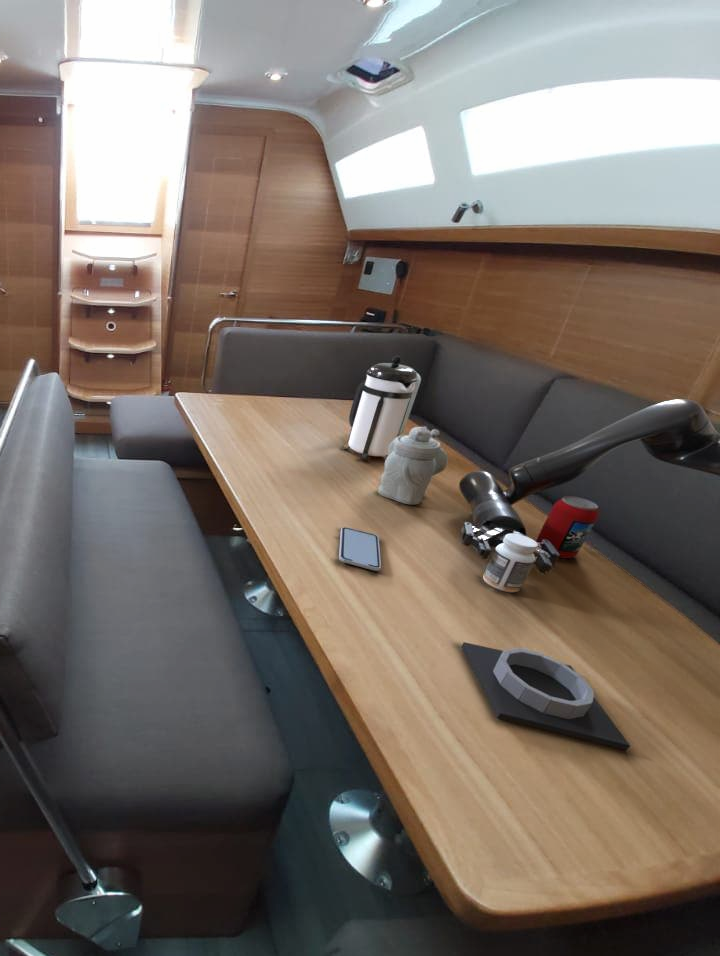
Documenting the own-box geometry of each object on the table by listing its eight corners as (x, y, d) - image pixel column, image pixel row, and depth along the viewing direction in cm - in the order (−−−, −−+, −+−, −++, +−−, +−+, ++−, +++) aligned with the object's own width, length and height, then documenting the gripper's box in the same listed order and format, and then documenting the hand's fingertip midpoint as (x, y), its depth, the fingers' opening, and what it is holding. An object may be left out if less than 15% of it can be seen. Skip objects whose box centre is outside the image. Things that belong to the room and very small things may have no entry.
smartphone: (378, 535, 108) (381, 569, 95) (377, 538, 108) (379, 573, 96) (341, 525, 110) (339, 558, 98) (340, 529, 111) (338, 562, 99)
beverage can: (569, 564, 101) (598, 513, 96) (528, 549, 106) (554, 499, 101) (578, 554, 105) (606, 504, 100) (538, 539, 110) (563, 491, 104)
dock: (568, 670, 75) (578, 653, 74) (626, 750, 63) (641, 732, 61) (461, 646, 79) (469, 629, 77) (497, 718, 67) (507, 699, 65)
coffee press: (401, 454, 154) (435, 356, 141) (387, 468, 143) (422, 364, 130) (343, 439, 164) (369, 347, 151) (325, 451, 154) (352, 353, 141)
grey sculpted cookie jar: (412, 480, 136) (435, 414, 128) (454, 506, 123) (484, 435, 115) (355, 480, 135) (376, 414, 126) (392, 507, 121) (418, 435, 113)
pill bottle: (517, 582, 95) (540, 538, 91) (520, 597, 91) (544, 552, 86) (481, 571, 98) (501, 528, 94) (482, 586, 93) (503, 541, 89)
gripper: (532, 548, 102) (555, 591, 89) (450, 529, 108) (460, 567, 95) (548, 516, 99) (575, 556, 86) (463, 499, 105) (475, 533, 92)
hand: (515, 562), depth 90 cm, fingers open, 8 cm apart
